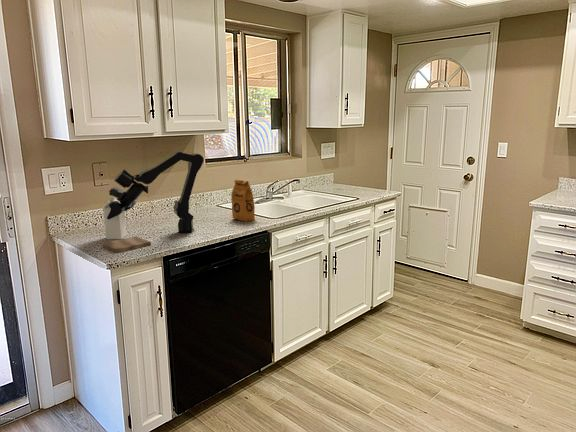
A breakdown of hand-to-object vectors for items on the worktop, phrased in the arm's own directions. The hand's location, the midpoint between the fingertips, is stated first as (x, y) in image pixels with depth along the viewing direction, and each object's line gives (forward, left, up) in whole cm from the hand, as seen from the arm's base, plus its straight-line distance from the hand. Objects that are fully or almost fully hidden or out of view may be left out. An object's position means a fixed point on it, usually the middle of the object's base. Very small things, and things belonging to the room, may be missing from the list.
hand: (111, 216), depth 204 cm
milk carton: (-1, 0, -10) cm, 10 cm away
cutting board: (-11, +14, -10) cm, 21 cm away
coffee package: (-58, -35, -10) cm, 69 cm away
